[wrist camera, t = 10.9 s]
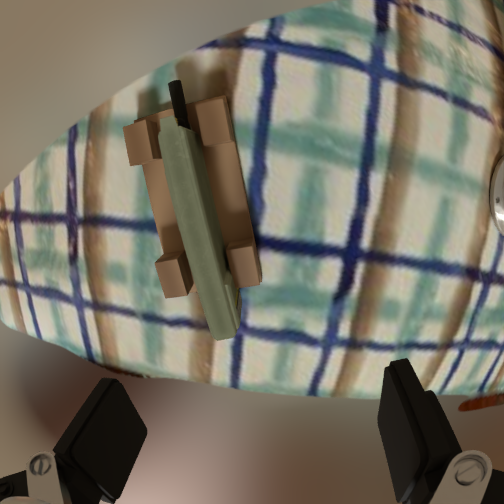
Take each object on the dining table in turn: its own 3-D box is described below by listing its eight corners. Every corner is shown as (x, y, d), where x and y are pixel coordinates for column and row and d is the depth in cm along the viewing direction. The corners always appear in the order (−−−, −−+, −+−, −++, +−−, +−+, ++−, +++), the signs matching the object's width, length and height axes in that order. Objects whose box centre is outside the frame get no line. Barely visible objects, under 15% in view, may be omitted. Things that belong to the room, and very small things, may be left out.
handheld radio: (216, 309, 34) (161, 89, 27) (244, 304, 34) (192, 80, 27) (208, 342, 28) (138, 73, 20) (242, 337, 27) (175, 61, 20)
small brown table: (226, 96, 28) (220, 88, 24) (262, 278, 34) (261, 294, 30) (137, 121, 29) (121, 117, 25) (178, 291, 35) (168, 306, 31)
